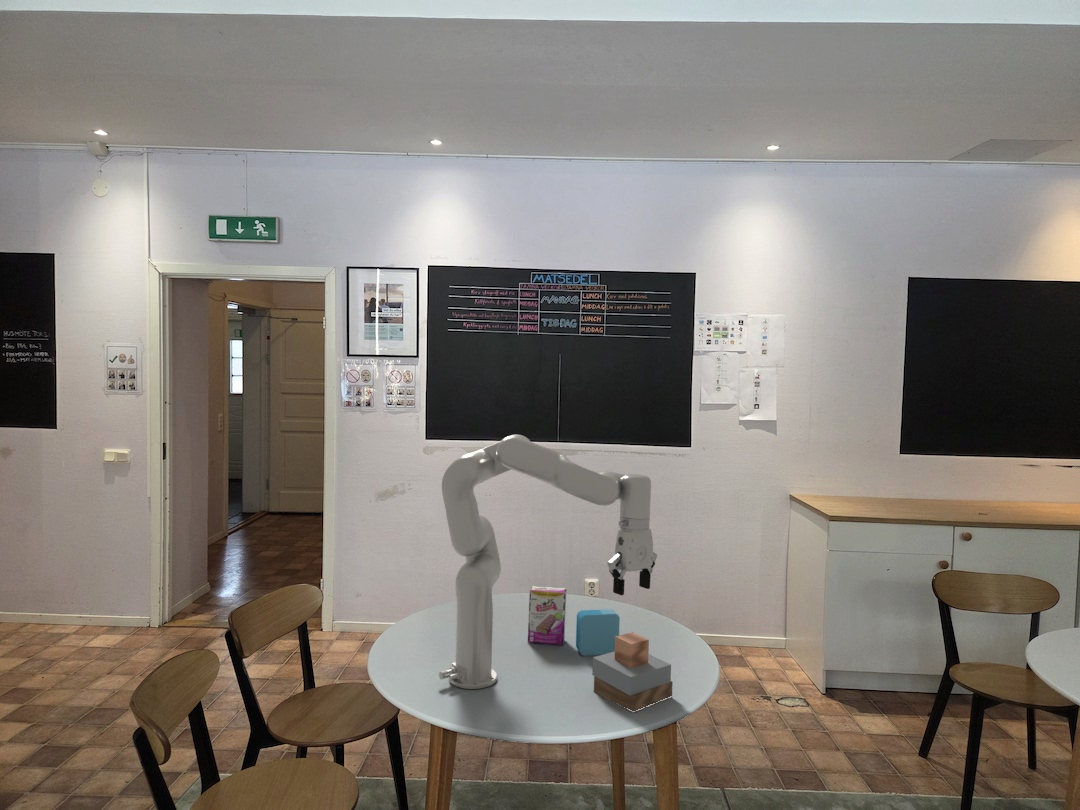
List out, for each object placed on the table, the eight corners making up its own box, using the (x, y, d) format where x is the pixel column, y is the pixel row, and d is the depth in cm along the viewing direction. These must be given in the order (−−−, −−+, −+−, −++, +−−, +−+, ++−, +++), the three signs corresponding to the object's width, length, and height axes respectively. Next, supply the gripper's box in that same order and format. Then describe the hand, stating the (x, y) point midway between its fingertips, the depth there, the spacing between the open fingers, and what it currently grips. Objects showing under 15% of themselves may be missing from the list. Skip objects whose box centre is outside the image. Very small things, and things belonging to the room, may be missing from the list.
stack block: (630, 668, 164) (631, 644, 164) (614, 659, 169) (615, 636, 169) (648, 663, 168) (648, 639, 168) (632, 654, 173) (632, 632, 173)
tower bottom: (633, 714, 159) (634, 696, 159) (593, 693, 170) (594, 675, 170) (671, 699, 168) (672, 681, 168) (631, 679, 179) (632, 663, 179)
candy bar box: (527, 643, 201) (528, 590, 201) (529, 637, 206) (530, 585, 206) (564, 646, 200) (565, 592, 200) (565, 639, 205) (566, 587, 205)
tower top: (630, 695, 159) (630, 677, 159) (592, 674, 170) (592, 657, 170) (670, 682, 167) (671, 664, 167) (631, 663, 179) (632, 646, 179)
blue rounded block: (614, 648, 200) (615, 608, 199) (618, 654, 195) (620, 613, 195) (575, 650, 197) (576, 610, 197) (579, 656, 193) (580, 615, 192)
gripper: (621, 530, 159) (618, 600, 160) (668, 523, 170) (665, 589, 171) (599, 524, 165) (597, 592, 165) (646, 518, 176) (643, 581, 177)
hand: (631, 590), depth 168 cm, fingers open, 9 cm apart
